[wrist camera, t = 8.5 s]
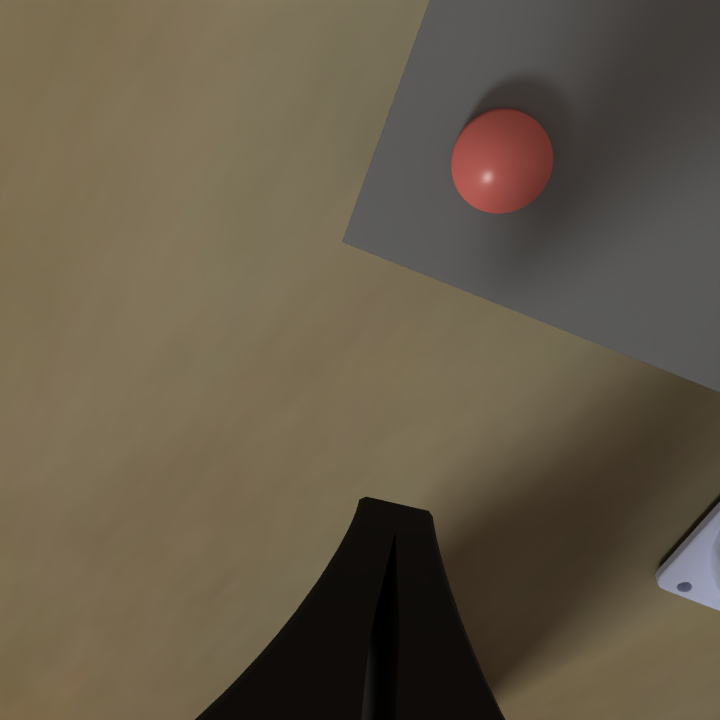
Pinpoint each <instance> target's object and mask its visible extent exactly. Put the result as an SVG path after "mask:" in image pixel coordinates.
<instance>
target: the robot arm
mask: <svg viewBox="0 0 720 720" xmlns="http://www.w3.org/2000/svg"><path fill="white" fill-rule="evenodd" d="M655 577H656V581H657V584H658V585H659V587H660V588H662V589H664V590H666V591H669V592H671V593H674V594H677V595H679V596H682V597H685V598H687V599H690V600H692V601H695V602H698V603H700V604H703V605H706V606H708V607H711V608H714V609H716V610H719V611H720V502H719V503H718V504H717V505H716V506H715V507H714V508H713V510H712V511H711V512H710V513H709V514H708V515H707V516H706V517H705V518H704V520H703V521H702V522H701V523H700V524H699V525H698V526H697V527H696V528H695V529H694V531H693V532H692V533H691V534H690V535H689V536H688V537H687V538H686V539H685V540H684V542H683V543H682V544H681V545H680V546H679V547H678V548H677V549H676V550H675V552H674V553H673V554H672V555H671V556H670V557H669V558H668V559H667V560H666V561H665V563H664V564H663V565H662V566H661V567H660V568H659V569H658V570H657V572H656V574H655ZM682 582H686V583H682ZM680 583H682V584H680ZM363 696H364V700H363ZM362 705H363V715H362V720H505V718H504V716H503V714H502V713H501V711H500V709H499V706H498V704H497V702H496V700H495V698H494V696H493V694H492V692H491V690H490V688H489V686H488V684H487V682H486V679H485V677H484V675H483V673H482V670H481V668H480V666H479V664H478V661H477V659H476V657H475V654H474V652H473V649H472V647H471V644H470V642H469V639H468V637H467V634H466V632H465V629H464V626H463V624H462V621H461V618H460V616H459V613H458V610H457V607H456V604H455V601H454V598H453V595H452V592H451V589H450V586H449V583H448V580H447V576H446V573H445V570H444V566H443V562H442V559H441V555H440V551H439V547H438V543H437V538H436V533H435V528H434V523H433V517H432V515H431V514H430V512H429V511H426V510H422V509H418V508H413V507H409V506H405V505H400V504H396V503H392V502H387V501H383V500H379V499H374V498H370V497H364V498H362V499H360V500H359V503H358V507H357V510H356V513H355V515H354V518H353V520H352V522H351V525H350V527H349V529H348V531H347V533H346V535H345V537H344V538H343V540H342V542H341V544H340V546H339V548H338V549H337V551H336V553H335V554H334V556H333V557H332V559H331V561H330V562H329V564H328V566H327V567H326V569H325V570H324V572H323V574H322V575H321V577H320V578H319V580H318V581H317V583H316V584H315V585H314V587H313V588H312V589H311V591H310V592H309V594H308V595H307V596H306V598H305V599H304V601H303V602H302V603H301V605H300V606H299V607H298V609H297V610H296V612H295V613H294V614H293V615H292V617H291V618H290V619H289V620H288V622H287V623H286V624H285V625H284V627H283V628H282V629H281V630H280V632H279V633H278V634H277V635H276V636H275V638H274V639H273V640H272V641H271V642H270V643H269V645H268V646H267V647H266V648H265V649H264V650H263V651H262V653H261V654H260V655H259V656H258V657H257V658H256V659H255V660H254V661H253V662H252V663H251V665H250V666H249V667H248V668H247V669H246V670H245V671H244V672H243V673H242V674H241V675H240V676H239V677H238V679H237V680H236V681H235V682H234V683H233V684H232V685H231V686H230V687H229V688H228V689H227V690H226V691H225V692H224V693H223V694H222V695H221V696H220V697H219V698H218V699H216V700H215V701H214V702H213V703H212V704H211V705H210V706H209V707H208V708H207V709H206V710H205V711H204V712H203V713H201V714H200V715H199V716H198V717H197V718H196V719H195V720H361V714H362Z"/></svg>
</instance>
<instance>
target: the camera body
mask: <svg viewBox="0 0 720 720" xmlns="http://www.w3.org/2000/svg"><path fill="white" fill-rule="evenodd" d="M342 242H344V243H346V244H349V245H351V246H354V247H356V248H359V249H361V250H364V251H366V252H369V253H371V254H374V255H376V256H379V257H381V258H384V259H386V260H389V261H391V262H394V263H396V264H399V265H401V266H404V267H406V268H409V269H411V270H414V271H416V272H419V273H421V274H424V275H427V276H429V277H432V278H434V279H437V280H439V281H442V282H444V283H447V284H449V285H452V286H454V287H457V288H459V289H462V290H464V291H467V292H469V293H472V294H474V295H477V296H479V297H482V298H484V299H487V300H489V301H492V302H494V303H497V304H499V305H502V306H504V307H507V308H509V309H512V310H514V311H517V312H519V313H522V314H524V315H527V316H529V317H532V318H534V319H537V320H539V321H542V322H544V323H547V324H549V325H552V326H554V327H557V328H559V329H562V330H565V331H567V332H570V333H572V334H575V335H577V336H580V337H582V338H585V339H587V340H590V341H592V342H595V343H597V344H600V345H602V346H605V347H607V348H610V349H612V350H615V351H617V352H620V353H622V354H625V355H627V356H630V357H632V358H635V359H637V360H640V361H642V362H645V363H647V364H650V365H652V366H655V367H657V368H660V369H662V370H665V371H667V372H670V373H672V374H675V375H677V376H680V377H682V378H685V379H687V380H690V381H692V382H695V383H697V384H700V385H703V386H705V387H708V388H710V389H713V390H715V391H718V392H720V0H430V1H429V4H428V7H427V10H426V12H425V15H424V18H423V21H422V23H421V26H420V29H419V32H418V34H417V37H416V40H415V43H414V45H413V48H412V51H411V54H410V56H409V59H408V62H407V65H406V67H405V70H404V73H403V76H402V78H401V81H400V84H399V87H398V89H397V92H396V95H395V98H394V100H393V103H392V106H391V109H390V111H389V114H388V117H387V120H386V122H385V125H384V128H383V131H382V133H381V136H380V139H379V142H378V144H377V147H376V150H375V153H374V155H373V158H372V161H371V164H370V166H369V169H368V172H367V175H366V177H365V180H364V183H363V186H362V188H361V191H360V194H359V197H358V199H357V202H356V205H355V208H354V210H353V213H352V216H351V219H350V221H349V224H348V227H347V230H346V232H345V235H344V238H343V241H342Z"/></svg>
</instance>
